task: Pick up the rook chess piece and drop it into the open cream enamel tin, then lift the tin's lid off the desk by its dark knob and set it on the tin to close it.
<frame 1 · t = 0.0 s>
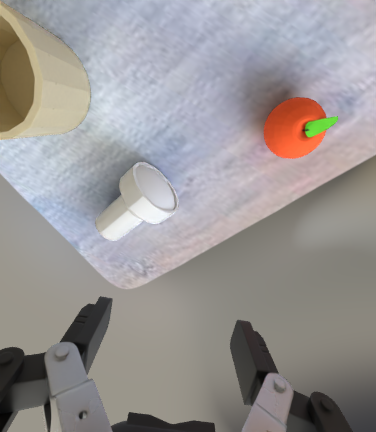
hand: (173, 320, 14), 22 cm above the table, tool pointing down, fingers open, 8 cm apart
clementine: (286, 127, 31), on the table
spotlight: (141, 197, 35), on the table
tin: (45, 86, 29), on the table
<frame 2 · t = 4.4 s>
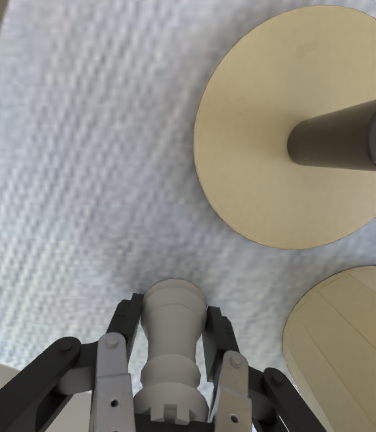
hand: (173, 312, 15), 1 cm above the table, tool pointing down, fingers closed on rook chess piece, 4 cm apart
tin lid: (302, 143, 13), point 1 cm above the table
tin: (357, 334, 17), on the table
rook chess piece: (174, 301, 16), on the table, touching gripper
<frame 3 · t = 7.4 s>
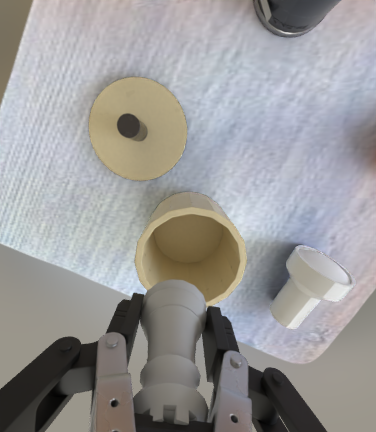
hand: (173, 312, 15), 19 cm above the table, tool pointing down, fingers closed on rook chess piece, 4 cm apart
tin lid: (139, 132, 29), point 1 cm above the table
spotlight: (293, 274, 36), on the table
tin: (188, 230, 33), on the table
rook chess piece: (174, 302, 16), point 18 cm above the table, touching gripper
when the fingers open (9 cm above the table, at t = 10.5 s): rook chess piece drops 7 cm, resting on tin.
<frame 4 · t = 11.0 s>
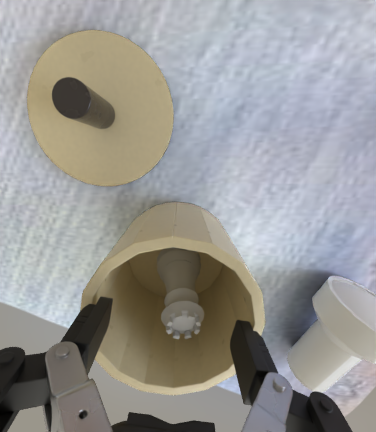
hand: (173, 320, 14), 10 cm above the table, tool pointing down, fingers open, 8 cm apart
tin lid: (103, 115, 20), point 1 cm above the table
spotlight: (319, 311, 27), on the table
tin: (176, 254, 24), on the table
rook chess piece: (178, 257, 23), point 1 cm above the table, touching tin
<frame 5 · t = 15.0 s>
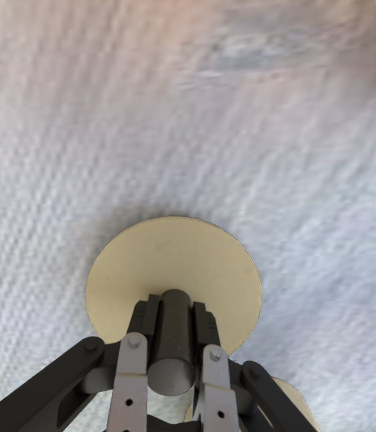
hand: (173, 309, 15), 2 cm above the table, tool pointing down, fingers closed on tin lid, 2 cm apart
tin lid: (174, 298, 16), point 1 cm above the table, touching gripper
tin: (245, 423, 21), on the table
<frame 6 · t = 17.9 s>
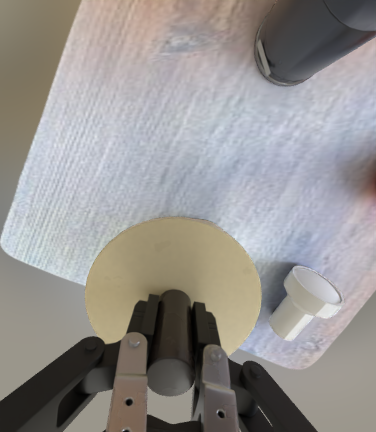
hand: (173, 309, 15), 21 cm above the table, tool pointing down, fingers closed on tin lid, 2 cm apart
tin lid: (174, 298, 16), point 20 cm above the table, touching gripper
spotlight: (291, 290, 40), on the table
when the fingers open (12 cm above the table, at t = 20.8 s): tin lid stays where it is, resting on tin.
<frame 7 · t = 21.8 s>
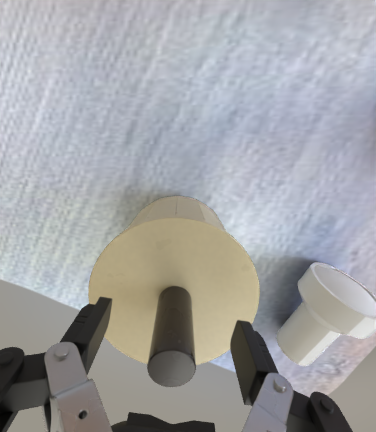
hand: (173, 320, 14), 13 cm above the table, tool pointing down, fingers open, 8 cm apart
tin lid: (175, 295, 17), point 10 cm above the table, touching tin
spotlight: (305, 295, 30), on the table
tin: (177, 242, 27), on the table
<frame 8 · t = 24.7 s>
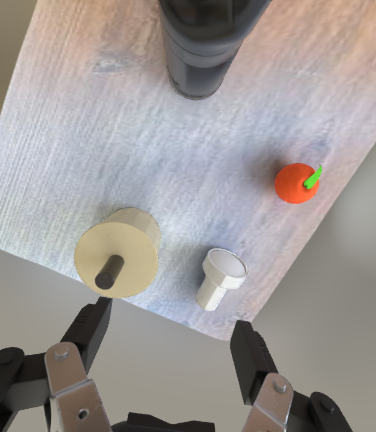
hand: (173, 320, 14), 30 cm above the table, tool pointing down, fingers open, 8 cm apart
clementine: (288, 179, 43), on the table
tin lid: (117, 260, 34), point 10 cm above the table, touching tin
spotlight: (215, 269, 47), on the table
tin: (132, 236, 44), on the table
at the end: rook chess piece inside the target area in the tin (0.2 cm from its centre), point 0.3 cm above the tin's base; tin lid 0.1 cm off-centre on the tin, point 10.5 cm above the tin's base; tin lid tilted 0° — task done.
